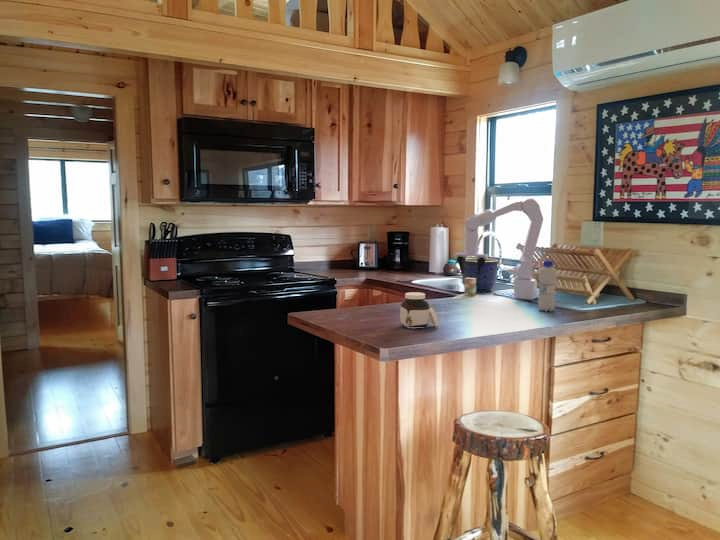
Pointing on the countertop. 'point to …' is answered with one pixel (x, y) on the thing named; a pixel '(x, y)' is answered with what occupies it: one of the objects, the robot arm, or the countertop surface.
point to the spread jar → (417, 311)
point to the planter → (487, 276)
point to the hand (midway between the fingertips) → (470, 274)
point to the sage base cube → (470, 292)
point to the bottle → (547, 287)
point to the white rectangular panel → (480, 298)
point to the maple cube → (470, 282)
